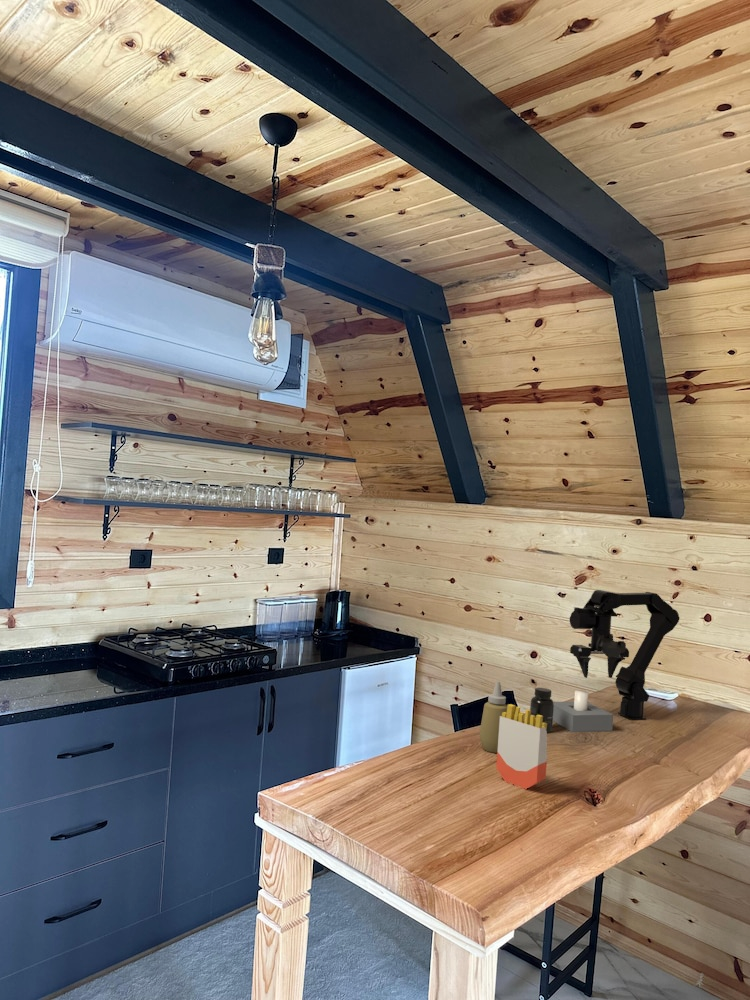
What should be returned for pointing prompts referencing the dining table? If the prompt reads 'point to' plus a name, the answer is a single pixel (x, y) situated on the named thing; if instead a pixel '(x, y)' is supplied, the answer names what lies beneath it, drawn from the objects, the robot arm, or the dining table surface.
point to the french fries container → (522, 747)
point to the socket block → (582, 718)
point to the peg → (580, 700)
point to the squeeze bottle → (492, 719)
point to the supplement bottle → (543, 706)
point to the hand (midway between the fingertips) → (597, 677)
